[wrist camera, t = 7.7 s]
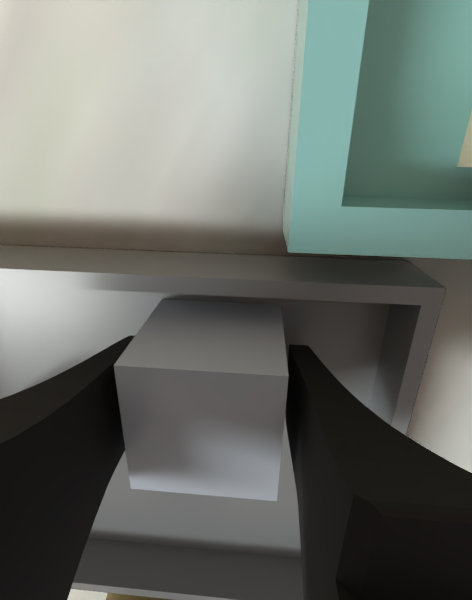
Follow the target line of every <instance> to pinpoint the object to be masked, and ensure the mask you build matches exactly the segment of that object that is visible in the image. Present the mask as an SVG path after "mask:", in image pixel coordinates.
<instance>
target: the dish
mask: <svg viewBox="0 0 472 600" xmlns="http://www.w3.org/2000/svg"><path fill="white" fill-rule="evenodd" d="M471 111H472V0H299V1H298V15H297V29H296V43H295V57H294V71H293V85H292V99H291V113H290V127H289V141H288V155H287V169H286V183H285V196H284V210H283V224H282V230H283V234H284V238H285V242H286V246H287V250H288V252H289V253H314V254H340V255H366V256H391V257H417V258H443V259H468V260H472V167H457V165H458V161H459V157H460V153H461V149H462V145H463V142H464V138H465V134H466V130H467V126H468V122H469V119H470V115H471Z"/></svg>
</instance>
